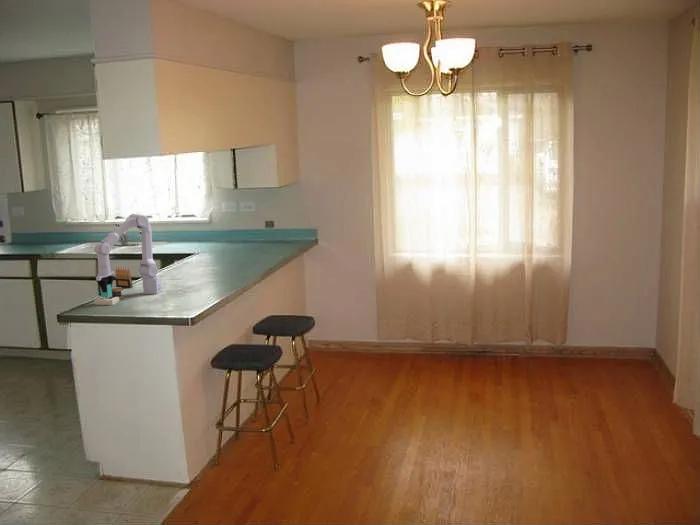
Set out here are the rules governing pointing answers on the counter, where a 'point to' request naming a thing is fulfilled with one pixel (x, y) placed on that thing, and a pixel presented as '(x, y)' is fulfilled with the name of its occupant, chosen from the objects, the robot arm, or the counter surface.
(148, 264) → the robot arm
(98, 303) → the notched board
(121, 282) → the ammunition clip
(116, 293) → the bobbin
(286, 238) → the counter surface
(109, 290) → the tab peg
